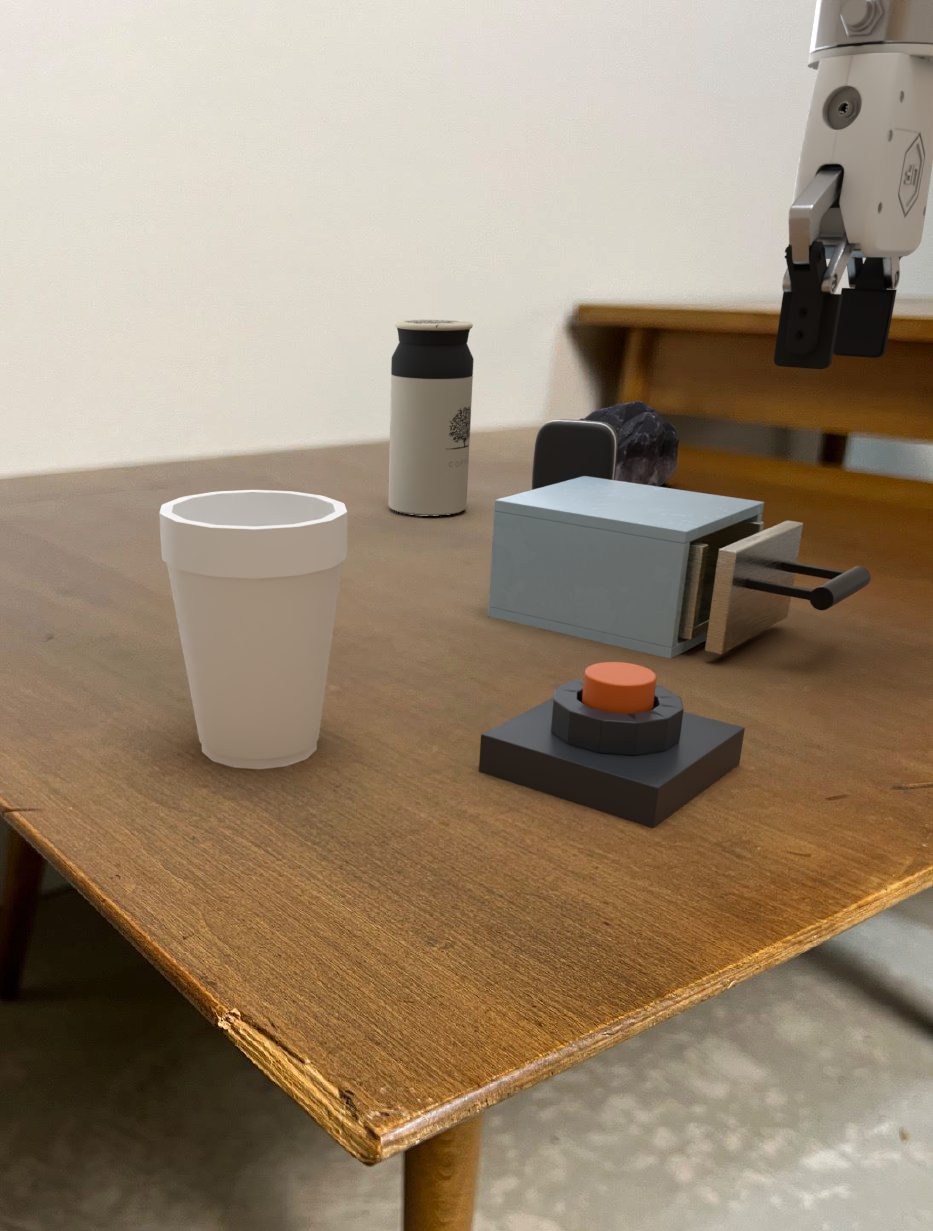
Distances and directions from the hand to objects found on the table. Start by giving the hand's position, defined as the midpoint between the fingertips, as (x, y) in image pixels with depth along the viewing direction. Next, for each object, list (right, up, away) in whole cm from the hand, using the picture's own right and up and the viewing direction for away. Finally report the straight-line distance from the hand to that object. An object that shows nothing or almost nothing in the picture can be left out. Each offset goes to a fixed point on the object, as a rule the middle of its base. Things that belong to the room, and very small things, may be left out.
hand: (830, 361), depth 73 cm
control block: (-15, -25, -10) cm, 31 cm away
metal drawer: (-4, -15, +11) cm, 19 cm away
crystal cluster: (0, +8, +64) cm, 64 cm away
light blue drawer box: (-10, -14, +16) cm, 23 cm away
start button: (-15, -21, -11) cm, 29 cm away
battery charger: (-10, -6, +34) cm, 36 cm away
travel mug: (-22, +2, +50) cm, 54 cm away
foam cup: (-34, -24, -7) cm, 42 cm away
